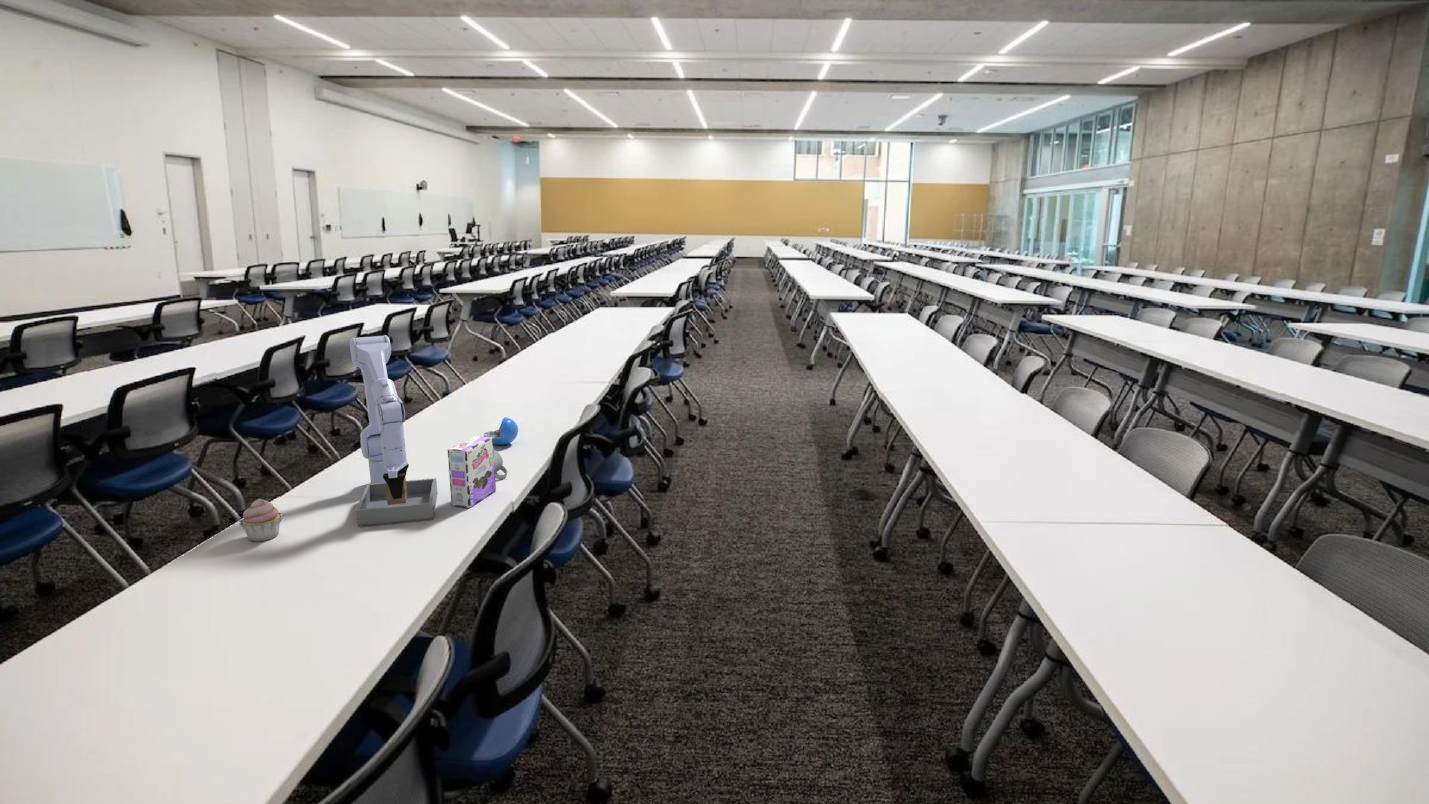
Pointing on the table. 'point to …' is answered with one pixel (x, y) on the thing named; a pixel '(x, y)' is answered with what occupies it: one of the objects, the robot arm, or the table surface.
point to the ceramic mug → (499, 465)
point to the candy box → (471, 471)
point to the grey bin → (415, 509)
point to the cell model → (504, 432)
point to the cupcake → (261, 521)
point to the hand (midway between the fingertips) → (398, 494)
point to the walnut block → (396, 501)
